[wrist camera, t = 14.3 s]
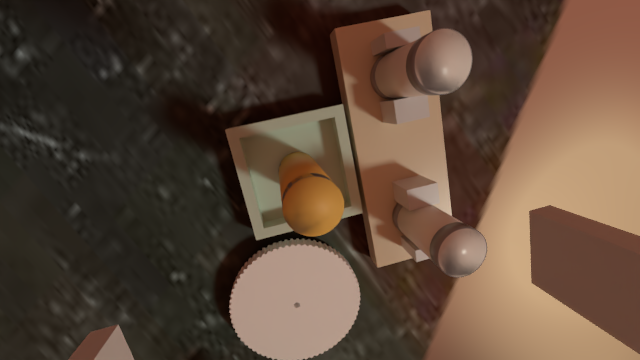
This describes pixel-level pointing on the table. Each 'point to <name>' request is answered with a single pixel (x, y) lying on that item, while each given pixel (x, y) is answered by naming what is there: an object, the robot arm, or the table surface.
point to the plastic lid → (294, 299)
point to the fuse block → (405, 137)
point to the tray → (277, 142)
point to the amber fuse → (308, 196)
